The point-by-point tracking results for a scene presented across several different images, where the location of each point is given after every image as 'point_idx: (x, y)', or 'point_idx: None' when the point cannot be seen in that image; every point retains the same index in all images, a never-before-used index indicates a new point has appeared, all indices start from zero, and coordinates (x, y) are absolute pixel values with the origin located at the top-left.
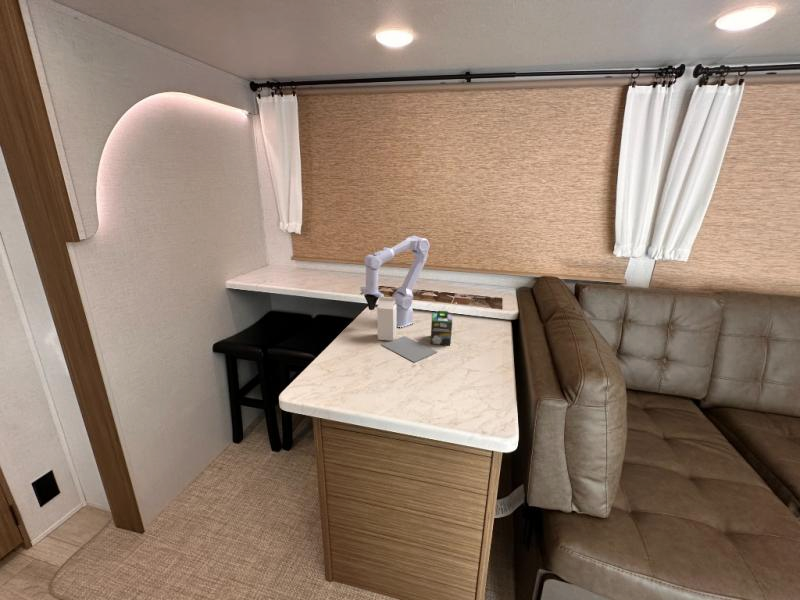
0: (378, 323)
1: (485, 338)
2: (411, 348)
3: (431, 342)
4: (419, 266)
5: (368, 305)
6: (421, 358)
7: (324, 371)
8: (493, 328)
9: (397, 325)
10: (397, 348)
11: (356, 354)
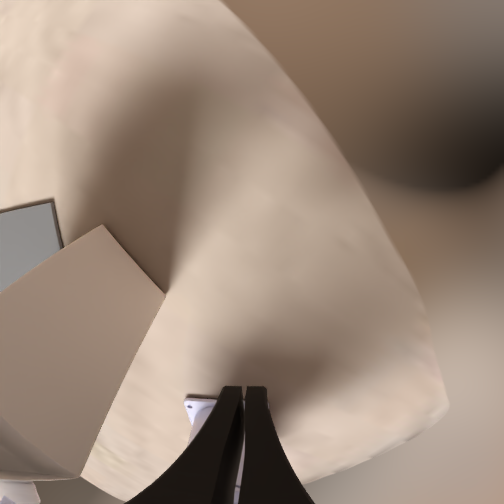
0: (33, 269)
1: None
2: (3, 286)
3: None
4: None
5: (256, 424)
6: None
7: None
8: (98, 481)
9: (211, 405)
10: (9, 242)
11: (48, 46)
